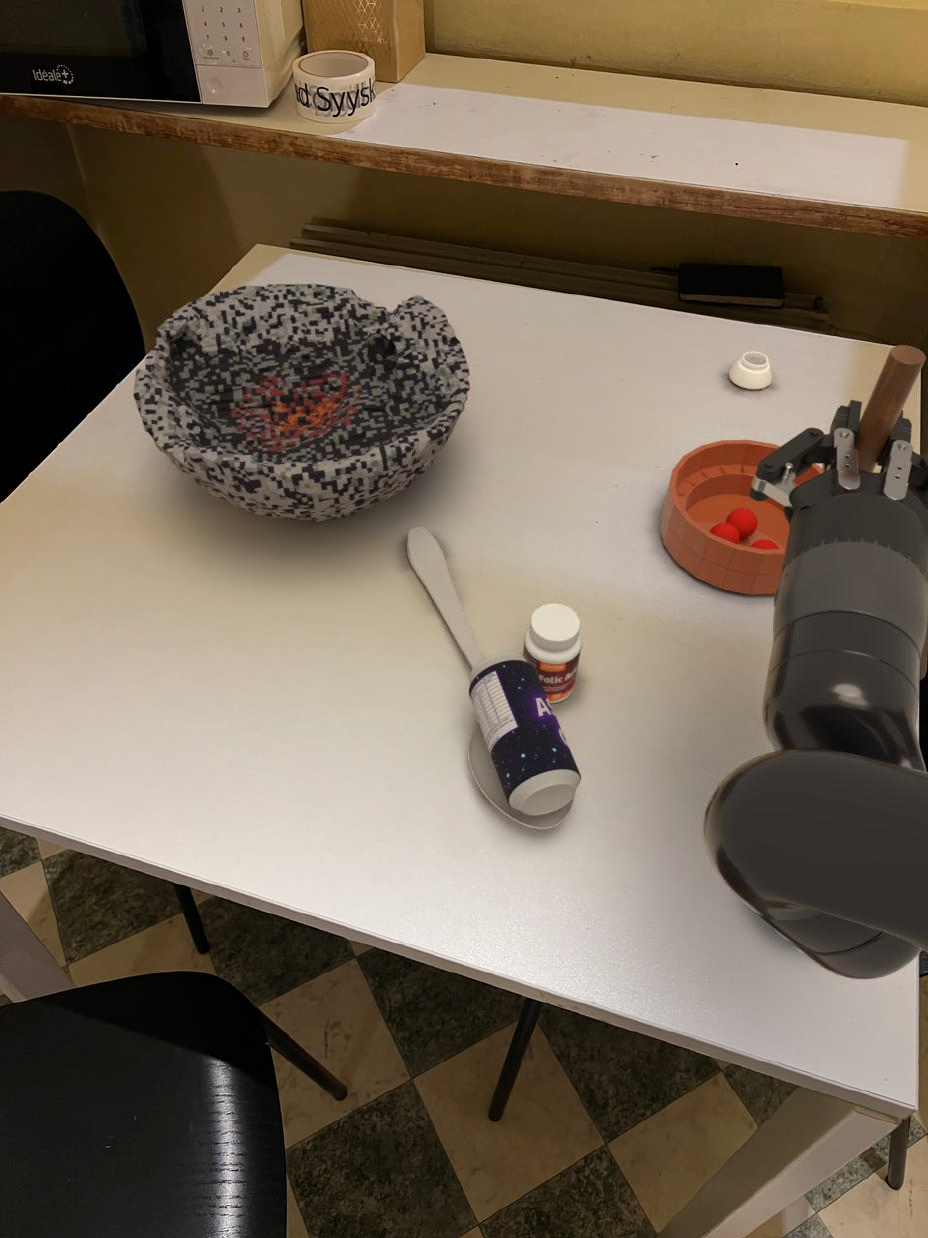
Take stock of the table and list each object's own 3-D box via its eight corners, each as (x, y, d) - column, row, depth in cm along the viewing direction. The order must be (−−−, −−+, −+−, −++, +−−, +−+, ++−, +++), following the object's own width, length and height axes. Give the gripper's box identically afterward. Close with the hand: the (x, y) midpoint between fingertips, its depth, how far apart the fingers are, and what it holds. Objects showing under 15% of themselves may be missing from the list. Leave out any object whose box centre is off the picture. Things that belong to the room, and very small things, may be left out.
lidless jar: (753, 397, 102) (778, 381, 104) (759, 375, 100) (785, 359, 102) (719, 378, 105) (745, 362, 107) (725, 357, 102) (751, 341, 105)
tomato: (747, 524, 83) (730, 545, 82) (744, 543, 85) (727, 564, 84) (719, 511, 84) (702, 532, 83) (717, 531, 87) (700, 551, 86)
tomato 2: (776, 558, 84) (784, 536, 82) (774, 579, 83) (783, 558, 80) (744, 552, 85) (752, 530, 83) (742, 573, 83) (750, 551, 81)
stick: (825, 577, 67) (933, 348, 51) (825, 596, 65) (936, 367, 50) (785, 570, 67) (881, 341, 52) (784, 588, 66) (882, 359, 51)
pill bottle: (536, 713, 73) (543, 652, 67) (511, 672, 76) (515, 610, 70) (584, 693, 75) (596, 632, 68) (558, 654, 77) (566, 592, 71)
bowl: (173, 608, 81) (125, 486, 69) (175, 409, 101) (138, 289, 89) (497, 559, 85) (503, 436, 74) (438, 377, 105) (435, 258, 93)
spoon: (597, 827, 66) (601, 810, 64) (500, 858, 65) (502, 840, 63) (454, 538, 89) (453, 518, 87) (379, 554, 87) (377, 534, 85)
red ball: (741, 497, 86) (761, 510, 84) (745, 520, 88) (766, 532, 86) (717, 513, 86) (737, 526, 83) (722, 535, 87) (741, 549, 85)
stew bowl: (824, 500, 91) (843, 455, 86) (822, 613, 81) (843, 569, 76) (669, 472, 93) (680, 427, 89) (648, 578, 83) (659, 533, 79)
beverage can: (573, 768, 59) (518, 638, 67) (499, 803, 60) (453, 670, 68) (594, 797, 64) (540, 672, 71) (525, 829, 64) (479, 701, 72)
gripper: (1020, 582, 43) (1009, 389, 53) (740, 515, 46) (781, 345, 56) (955, 673, 49) (956, 482, 59) (709, 608, 52) (752, 437, 62)
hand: (870, 416), depth 58 cm, fingers closed on stick, 2 cm apart
